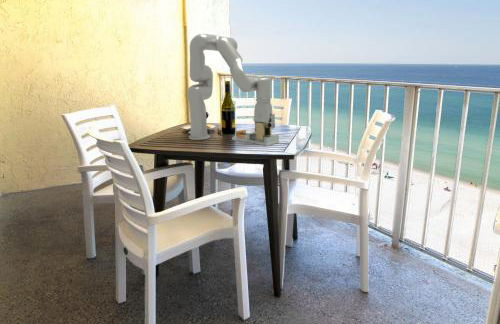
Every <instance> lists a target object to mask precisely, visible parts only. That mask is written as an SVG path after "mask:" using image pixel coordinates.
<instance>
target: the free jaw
mask: <svg viewBox="0 0 500 324" xmlns="http://www.w3.org/2000/svg"><path fill="white" fill-rule="evenodd" d="M244 135H247V139H249V140H251V139H255V138H256V132H255V131H254V132H247V130H246V129H242V130H236V131H235V136H236V137H239V136H244Z"/></svg>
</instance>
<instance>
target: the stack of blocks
mask: <svg viewBox="0 0 500 324" xmlns="http://www.w3.org/2000/svg"><path fill="white" fill-rule="evenodd" d="M275 117H276V116H275V113H273V120H274V121H275V123H274V124H273V125H272V126H271V130H272V129H274V128H275V127H276V126H275V125H276V119H275ZM254 132H256V123H255V122H254Z"/></svg>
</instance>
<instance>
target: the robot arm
mask: <svg viewBox="0 0 500 324" xmlns="http://www.w3.org/2000/svg"><path fill="white" fill-rule="evenodd" d="M204 51H214V52H215V51H217V52H218V53H219V54H220V56H221V57H222V59H223V60H224V61H225V63H226V65H227V67H228V68H229V71H230V75H231V79H232V80H233V81H234V82H233V83H235V84H236V86H237V88H238V90H240V91H242V92H245V93H249V92H255V91H256V98H255V101H256V103H255V105H254V112H253V119H252V121H253V122H254V124H255V123H257V122H262V123H266V128H265V135H270V127H271V126H272V125H273V124H274V123H275V124H276V120H275V121H274V120H273V114H274V113H273V105H272V103H271V79H270V78H269V77H254V76H252V77H251V76H250V77H248V76H247V73H246V72H245V71H244V70H243V66H242V63H243V57H242V55H241V54H240V53H239V52H238V42H237V40H235V39H234V38H232V37H227V36H221V35H215V34H209V33H200V34H199V33H198V34H197V35H195V36H194V37H192V38H191V41H190V43H189V78H190V80H191V81H192V82H195V83H196V84H192V85H190V86H189V87H188V89H187V90H186V91H187V92H186V98H187V100H188V107H189V108H188V109H189V121H190V130H189V131H188V132H187V133H188V134H190V135H189V136H188V140H192V141H201V140H202V141H203V140H208V139H210V138H211V135H209V134H208V127H207V126H208V123H207V122H208V121H207V107H206V104H205V101H206V100H208V99H210V98H211V97H212V95H213V85H214V84H213V83H214V82H213V81H214V79H213V78H214V77H213V76H214V73H213V71H212V68H211V67H210V66H209V65H206V56H205V52H204ZM270 122H271V123H270Z"/></svg>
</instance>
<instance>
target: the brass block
mask: <svg viewBox="0 0 500 324" xmlns="http://www.w3.org/2000/svg"><path fill="white" fill-rule="evenodd" d="M270 123H271V122H270ZM265 128H266V123H262V122H257V123H256V139H261V140H264V137H267V136H271V135H272V129H271V127H270V135H265Z"/></svg>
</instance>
